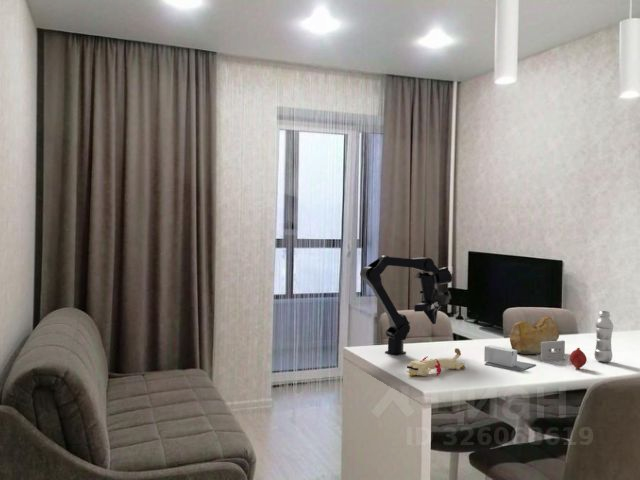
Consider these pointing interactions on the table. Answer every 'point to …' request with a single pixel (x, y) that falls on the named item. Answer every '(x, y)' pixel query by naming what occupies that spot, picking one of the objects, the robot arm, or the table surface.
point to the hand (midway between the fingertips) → (434, 323)
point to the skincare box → (500, 356)
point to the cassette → (552, 355)
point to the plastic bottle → (603, 337)
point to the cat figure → (434, 365)
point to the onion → (578, 358)
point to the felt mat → (519, 367)
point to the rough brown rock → (533, 335)
